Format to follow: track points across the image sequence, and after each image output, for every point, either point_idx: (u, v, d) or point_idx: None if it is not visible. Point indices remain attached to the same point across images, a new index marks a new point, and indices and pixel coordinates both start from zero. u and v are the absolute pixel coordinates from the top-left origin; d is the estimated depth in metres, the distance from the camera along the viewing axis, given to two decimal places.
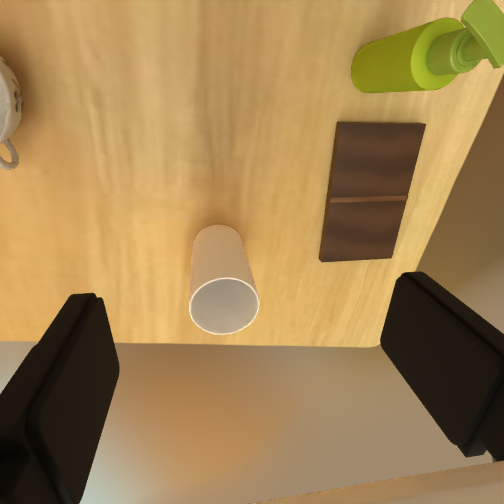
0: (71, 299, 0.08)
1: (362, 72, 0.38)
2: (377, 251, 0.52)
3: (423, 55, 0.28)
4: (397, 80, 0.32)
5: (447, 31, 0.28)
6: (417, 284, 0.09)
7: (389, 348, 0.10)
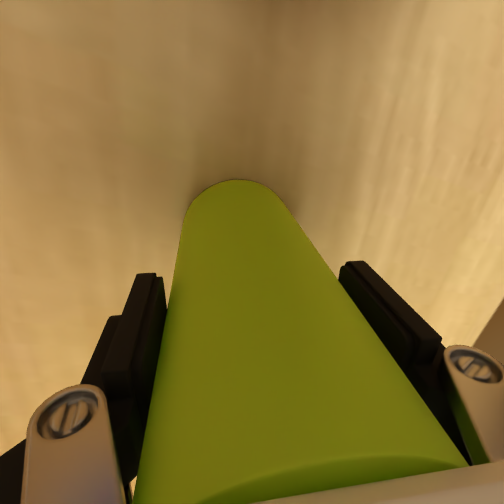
0: (139, 277, 0.09)
1: None
2: None
3: None
4: None
5: None
6: (357, 272, 0.10)
7: None
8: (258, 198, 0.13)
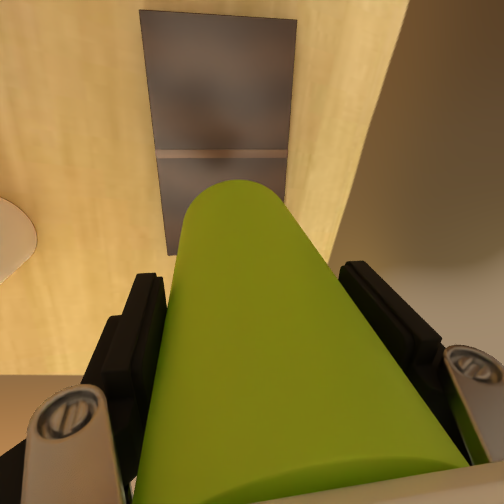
0: (139, 277, 0.09)
1: None
2: None
3: None
4: None
5: None
6: (357, 272, 0.10)
7: None
8: (258, 197, 0.12)
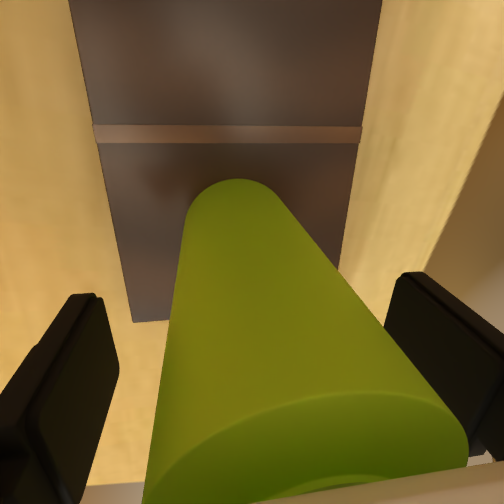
0: (71, 299, 0.08)
1: None
2: None
3: None
4: None
5: (330, 466, 0.04)
6: (417, 284, 0.09)
7: None
8: (258, 194, 0.13)
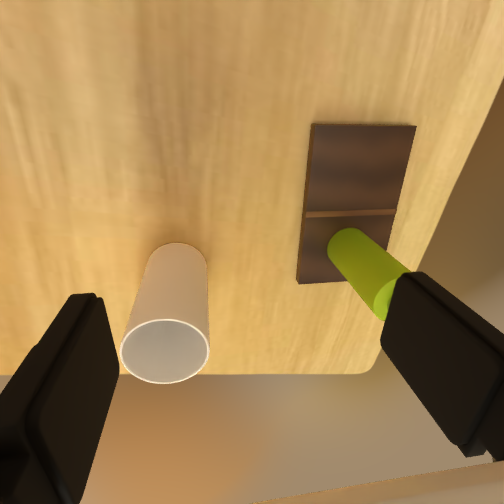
0: (71, 299, 0.08)
1: (335, 263, 0.40)
2: None
3: (384, 303, 0.31)
4: (364, 301, 0.35)
5: None
6: (417, 284, 0.09)
7: (389, 348, 0.10)
8: (364, 236, 0.39)
